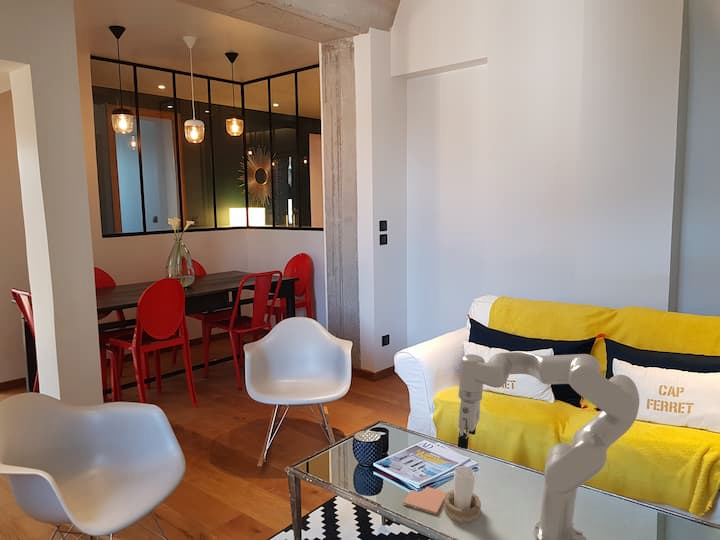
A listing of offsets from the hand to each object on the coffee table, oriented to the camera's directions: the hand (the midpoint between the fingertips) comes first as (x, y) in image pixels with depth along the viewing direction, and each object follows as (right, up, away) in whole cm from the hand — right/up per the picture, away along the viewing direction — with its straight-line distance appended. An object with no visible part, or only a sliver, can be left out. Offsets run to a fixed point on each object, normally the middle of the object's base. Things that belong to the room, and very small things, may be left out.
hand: (466, 440), depth 184 cm
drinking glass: (0, -26, +6) cm, 27 cm away
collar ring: (0, -26, +6) cm, 27 cm away
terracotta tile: (-12, -24, +12) cm, 30 cm away
